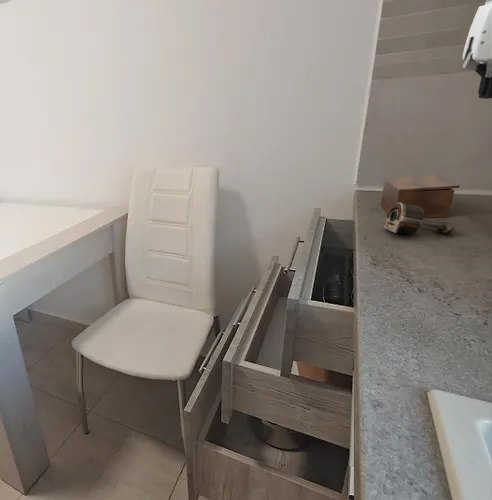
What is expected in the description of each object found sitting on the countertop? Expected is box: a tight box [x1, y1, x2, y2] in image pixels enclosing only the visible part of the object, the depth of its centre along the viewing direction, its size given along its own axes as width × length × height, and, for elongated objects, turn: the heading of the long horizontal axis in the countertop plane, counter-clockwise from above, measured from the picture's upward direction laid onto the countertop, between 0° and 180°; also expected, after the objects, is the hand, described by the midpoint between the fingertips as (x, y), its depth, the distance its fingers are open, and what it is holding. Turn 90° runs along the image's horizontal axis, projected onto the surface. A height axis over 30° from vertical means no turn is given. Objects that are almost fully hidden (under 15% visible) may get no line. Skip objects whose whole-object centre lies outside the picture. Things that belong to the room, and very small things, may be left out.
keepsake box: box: [379, 181, 455, 219], centre depth 93 cm, size 11×10×7 cm
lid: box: [384, 174, 461, 192], centre depth 91 cm, size 12×10×1 cm
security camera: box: [383, 202, 456, 235], centre depth 81 cm, size 7×13×10 cm
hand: (487, 97), depth 76 cm, fingers closed
